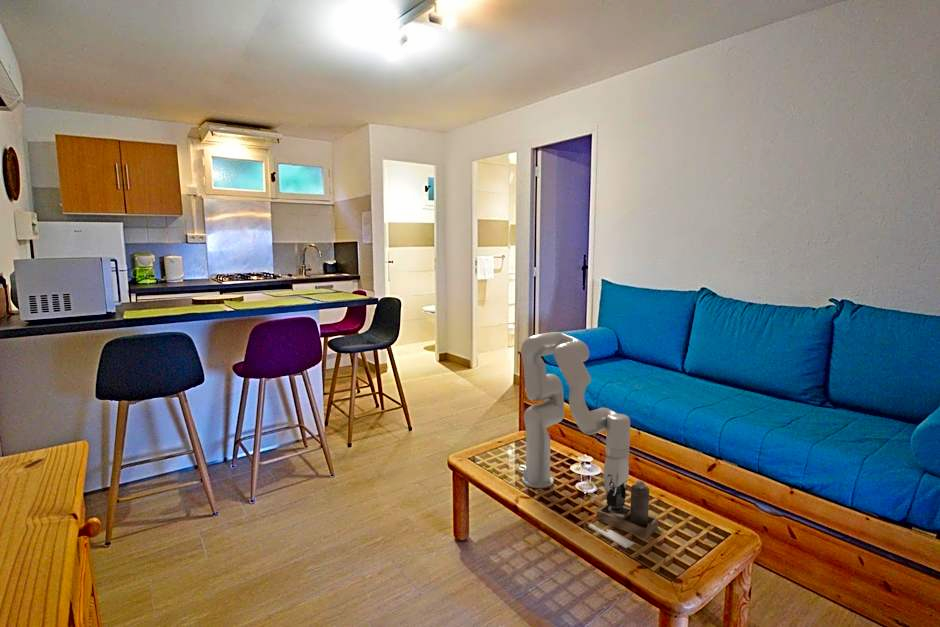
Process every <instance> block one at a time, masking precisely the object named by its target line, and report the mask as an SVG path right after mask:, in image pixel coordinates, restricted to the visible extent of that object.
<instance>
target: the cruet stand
mask: <svg viewBox="0 0 940 627" xmlns="http://www.w3.org/2000/svg"><path fill="white" fill-rule="evenodd" d="M630 488H631V489H630V507H628V506H627V507H626V506H623V507H622V508H623V509H624V512H623V513H621V514H615V513H612V512H610V511H609V510H608V507H609V506H610V505H608V504H607V502H606V503H605V504H604V505H603V506H601V507H600V508H599V509H597V511H596V520H597V521H599V522H602V523H605V524H606V525H609V526H611V527H614V528H616V529H619V530H622V531H624V532H627V533H628V534H631V535H634V536H636V537H639V538H641V539H645V540H648V538H650V537H651V535H652V534H653V533H655V531H657V529H658V528H659V518H657V517H654V516H652V515H649V511H650V510H649V507H650V505H649V504H650V503H649V502H650V487H648V486H647V485H646V483H645V482H644V481H643V480H637V481H636V483H635V484H632V485H631V487H630Z"/></svg>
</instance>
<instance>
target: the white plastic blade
mask: <svg viewBox="0 0 940 627" xmlns="http://www.w3.org/2000/svg"><path fill="white" fill-rule="evenodd" d="M587 527H588V528H590V529H592V530H593V531H595V532H597V533H598V534H600V535H602V536H604V537H606V538H607V539H609V540H611V541H612V542H614V543H616V544H618V545H620V546H621V547H623V548H625V549H627V548H629V547H631V546H634V545H635V544H636V543H635V542H633V541H631V539H628V538H626V537H625V536H622V534H619V533H617V531H614V530H612V529H606V530H603V529H601V528H599V527H598V526H596V525H594V524H593V523H590V524H589V525H588V526H587Z"/></svg>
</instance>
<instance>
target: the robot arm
mask: <svg viewBox="0 0 940 627" xmlns="http://www.w3.org/2000/svg"><path fill="white" fill-rule="evenodd" d="M520 355H521V360H522V365H523V375H524V386H525V387H524V388H525V395H526V398H527V399H528V400H530V401H531V402H539V403H535V404H532V405H530V406H528V407H527V408H526V410H525V411H524V412H523V413H524V414H523V420H524V421H523V422H524V426H525V440H526V441H525V444H526V445H525V446H526V447H525V464H520V465H519V468H518V471H519V473H523V475H522V477H521V482H522V483H523V484H524V485H525V486H526V487H527V486H528V487H529V488H534V489H547V488H550V487H551V486H552V485H554V481H555V479H554V477H553V476H552V475H551V437H550V434H549V432H548V430H547V428H548V427H551V426H554V425H556V424H557V425H558V424H559V423H561V422H562V421H563V419H564V417H565V399H564V387H563V384H562V381H561V379H560V378H559V376H557V375H556V374H554V373H547V369H546V367H547V366H546V365H545V364H546V363H545V362H544V359H543V358H542V357H545V356H548V355H549V356H550V355H553V358H554V360H555V362H556V364H557V366H558V368H559V370H560V372H561V373H562V377H564V379H565V381H566V384H567V385H568V388H569V393H568V405H569V406H568V407H569V411H570V413H571V416H572V418H573V420H574V422H575V424H576V426H577V427H578V429H579V430H580V431H581V432H582V433H583V434H586V435H588V436H589V435H590V436H591V435H596V434H598V433H600V432H604V431H606V441H605V455H606V456H605V460H604V465H603V466H604V467H603V476H602V477H603V478H602V484H603V485H604V488H603V489H604V490H605V493H606V503H607V504H608V505H611V506H613V507H616V501H617V495H615V494H616V489H617V487H618V486H620V485H621V489H622V491H621V497H622V498H624V499H625V500H626V491H627V490H626V489H627V481H628V479H629V474H630V472H629V471H630V463H629V462H630V461H629V458H630V444H631V443H630V442H631V438H630V437H631V419H630V417H629V416H628V415H626V414H624V413H618V412H616V411H614V410H612V409H610V408H607V407H599V408H597V409H596V408H595V409H592V410H589V408H588V405H587V404H586V401H585V391H586V389H587V387H588V385H589V384H590V383H591V382H592V377H591V374H590V372H588V370H587V367H586V365H585V363H584V362H586V361H588V360H589V358H590V350H589V346H588V345H587V344H586V343H585V342H583V341H582V340H580V339H579V338H575V337H574V336H571V335H568V334H566V333H563V332H561V331H551V332H545V333H538V334H534V335H531V336H528V337H527V338H525V339H524V341H523V342H522V344H521V348H520ZM541 401H543V402H541ZM612 483H613V484H614V485H612ZM612 487H613V488H614V489H613V490H612V489H611V488H612Z"/></svg>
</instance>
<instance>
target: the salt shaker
mask: <svg viewBox="0 0 940 627" xmlns="http://www.w3.org/2000/svg"><path fill="white" fill-rule="evenodd" d="M611 485H614V484H613V483H611ZM610 489H612V490H613V489H614V488H613V487H610ZM621 491H622V489H621V485H620V486H618V487H617V489H616V494H615V495H617V501H616V507H613V506H611V505H610V506H609V507H608V510H609V511H610V512H612V513H615V514H621V513H623V512H624V509H623V508H622V507H623V506H624V505H625V504H626V498H625V499H624V498H622V497H621Z"/></svg>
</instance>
